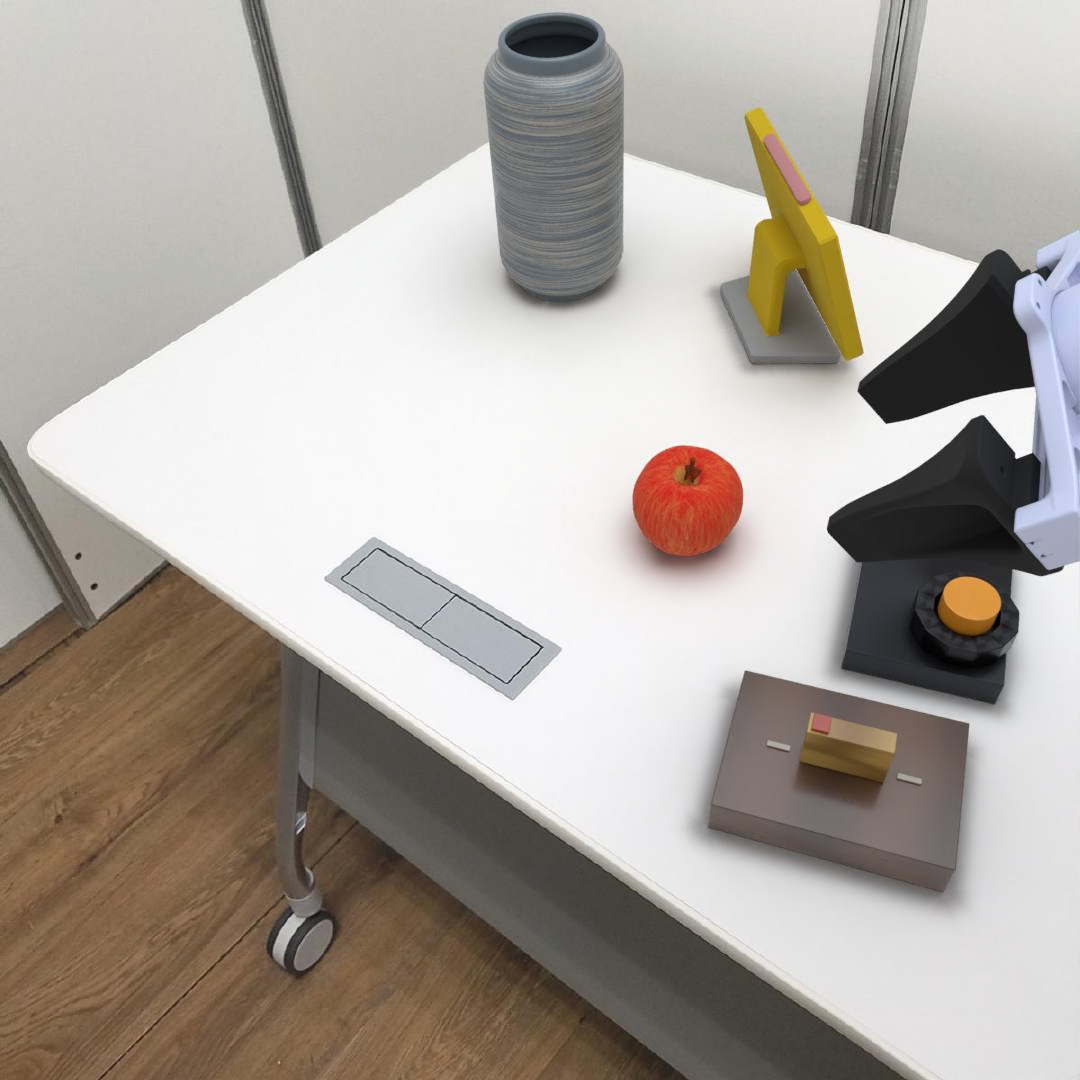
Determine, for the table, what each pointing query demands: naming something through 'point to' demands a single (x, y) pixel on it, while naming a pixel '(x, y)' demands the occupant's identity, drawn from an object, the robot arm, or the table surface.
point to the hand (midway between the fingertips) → (858, 467)
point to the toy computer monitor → (791, 269)
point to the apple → (687, 500)
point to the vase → (557, 153)
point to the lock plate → (843, 784)
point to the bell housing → (927, 628)
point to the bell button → (969, 606)
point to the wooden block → (848, 747)
